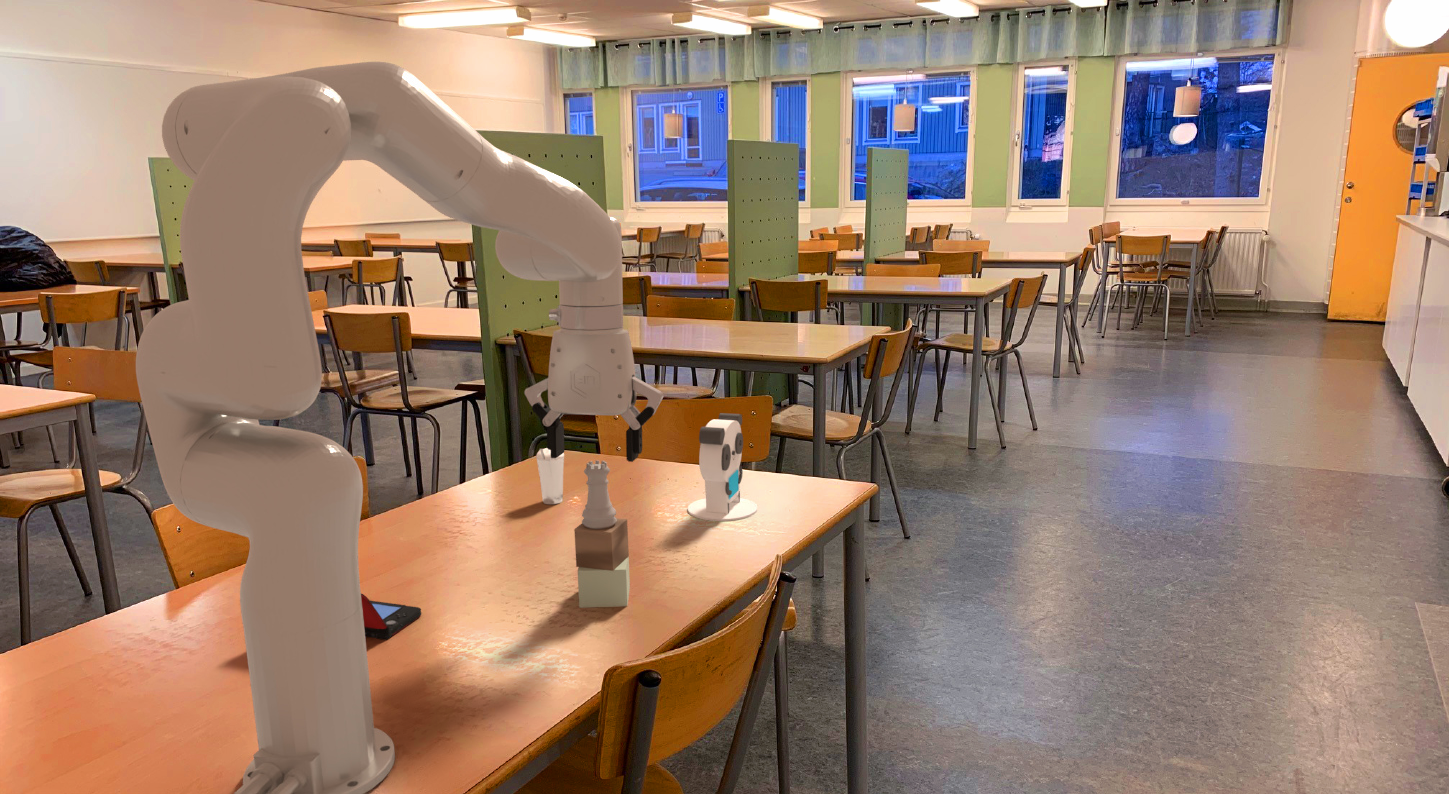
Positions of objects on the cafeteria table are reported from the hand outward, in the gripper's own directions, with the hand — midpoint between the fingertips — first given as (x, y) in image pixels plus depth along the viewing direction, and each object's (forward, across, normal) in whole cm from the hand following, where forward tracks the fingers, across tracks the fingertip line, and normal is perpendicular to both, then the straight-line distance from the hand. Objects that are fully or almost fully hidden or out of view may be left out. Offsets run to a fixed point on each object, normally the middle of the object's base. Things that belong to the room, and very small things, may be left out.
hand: (594, 457), depth 120 cm
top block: (+14, 0, +1) cm, 14 cm away
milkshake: (+18, -20, +37) cm, 46 cm away
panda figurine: (+18, +9, +37) cm, 42 cm away
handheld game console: (+20, -27, -12) cm, 35 cm away
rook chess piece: (+9, 0, +1) cm, 9 cm away
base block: (+19, +1, +1) cm, 19 cm away
